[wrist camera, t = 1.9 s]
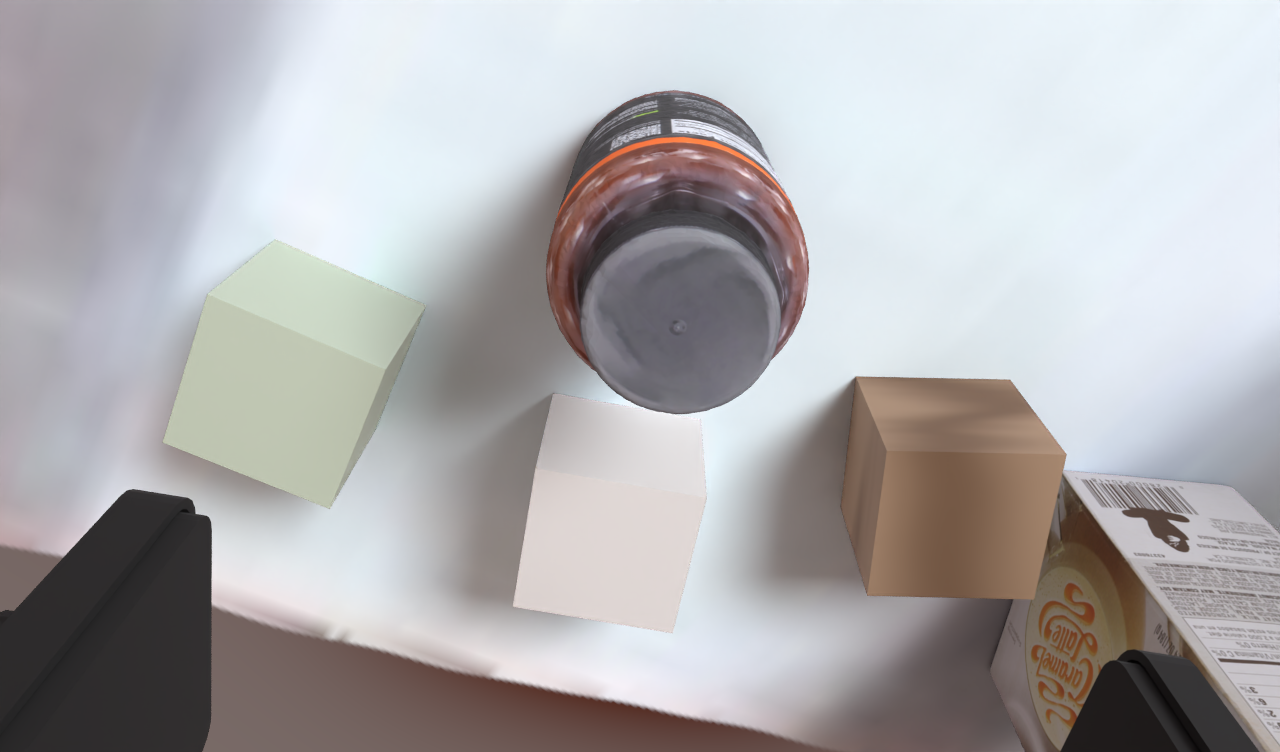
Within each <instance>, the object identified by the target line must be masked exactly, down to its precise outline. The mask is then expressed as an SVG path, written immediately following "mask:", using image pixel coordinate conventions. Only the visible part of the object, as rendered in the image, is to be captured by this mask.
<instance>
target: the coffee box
mask: <svg viewBox="0 0 1280 752" xmlns="http://www.w3.org/2000/svg"><path fill="white" fill-rule="evenodd" d="M1132 649H1136V650H1143V651H1149V652H1155V653H1161V654H1168V655H1174V656H1180V657H1184V658H1186V659H1189V660H1190V661H1191V662H1192V663H1193V664H1194V665H1195V666H1196V667H1197V668H1198V669H1199V670H1200V672H1201V673H1202V674H1203V676H1204V677H1205V678H1206V680H1207V681H1208V683H1209V684H1210V685H1211V687H1212V688H1213V689H1214V691H1215V692H1216V693H1217V695H1218V696H1219V697H1220V699H1221V700H1222V702H1223V703H1224V704H1225V706H1226V707H1227V708H1228V710H1229V711H1230V712H1231V714H1232V715H1233V716H1234V718H1235V719H1236V721H1237V722H1238V723H1239V725H1240V726H1241V727H1242V729H1243V730H1244V731H1245V733H1246V734H1247V735H1248V737H1249V738H1250V739H1251V741H1252V742H1253V744H1254V745H1255V746H1256V748H1257V749H1258V750H1259V752H1280V533H1279V532H1278V531H1277V530H1276V529H1275V528H1274V527H1273V526H1272V525H1271V524H1270V523H1268V522H1267V521H1266V520H1265V519H1264V518H1263V517H1262V516H1261V515H1260V514H1259V512H1258V511H1257V510H1256V509H1255V508H1254V507H1253V506H1251V505H1250V504H1249V503H1248V502H1247V501H1246V500H1245V499H1244V498H1243V497H1242V496H1241V495H1240V494H1239V493H1238V492H1237V491H1236V490H1235V489H1234V488H1232V487H1229V486H1225V485H1218V484H1207V483H1196V482H1185V481H1174V480H1164V479H1153V478H1142V477H1132V476H1121V475H1109V474H1098V473H1088V472H1077V471H1066V470H1064V471H1063V473H1062V477H1061V482H1060V486H1059V490H1058V495H1057V499H1056V504H1055V508H1054V513H1053V517H1052V522H1051V526H1050V531H1049V535H1048V539H1047V544H1046V548H1045V553H1044V557H1043V562H1042V566H1041V571H1040V575H1039V579H1038V584H1037V588H1036V593H1035V597H1034V600H1030V599H1013V602H1012V605H1011V608H1010V611H1009V614H1008V618H1007V621H1006V624H1005V627H1004V630H1003V633H1002V636H1001V639H1000V641H999V644H998V647H997V650H996V653H995V656H994V659H993V663H992V666H991V669H990V674H991V677H992V679H993V681H994V683H995V685H996V687H997V689H998V691H999V694H1000V696H1001V698H1002V701H1003V703H1004V705H1005V707H1006V710H1007V712H1008V714H1009V716H1010V719H1011V721H1012V723H1013V725H1014V728H1015V730H1016V733H1017V735H1018V737H1019V739H1020V741H1021V744H1022V746H1023V748H1024V750H1025V752H1060V751H1061V749H1062V747H1063V745H1064V743H1065V741H1066V739H1067V737H1068V735H1069V733H1070V731H1071V729H1072V727H1073V725H1074V723H1075V721H1076V719H1077V717H1078V715H1079V713H1080V711H1081V709H1082V707H1083V705H1084V703H1085V701H1086V699H1087V697H1088V695H1089V693H1090V691H1091V689H1092V686H1093V684H1094V682H1095V680H1096V678H1097V676H1098V674H1099V672H1100V670H1101V669H1102V667H1103V666H1104V665H1105V664H1106V663H1107V662H1109V661H1112V660H1117V659H1118V658H1119V656H1120V655H1121V654H1122V653H1124V652H1125V651H1127V650H1132Z"/></svg>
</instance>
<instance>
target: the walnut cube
mask: <svg viewBox="0 0 1280 752" xmlns="http://www.w3.org/2000/svg"><path fill="white" fill-rule="evenodd" d="M1065 459H1066V453H1065V452H1064V451H1063V449H1062V448H1061V447H1060V445H1059V444H1058V443H1057V441H1056V440H1055V439H1054V437H1053V436H1052V435H1051V433H1050V432H1049V431H1048V429H1047V428H1046V427H1045V425H1044V424H1043V423H1042V421H1041V420H1040V419H1039V417H1038V416H1037V415H1036V413H1035V412H1034V411H1033V409H1032V408H1031V407H1030V406H1029V404H1028V403H1027V402H1026V400H1025V399H1024V398H1023V396H1022V395H1021V394H1020V392H1019V391H1018V390H1017V388H1016V387H1015V386H1014V384H1013V383H1012V382H1011V380H997V379H948V378H900V377H856V379H855V388H854V396H853V405H852V414H851V422H850V431H849V439H848V448H847V457H846V465H845V474H844V483H843V491H842V500H841V510H842V513H843V516H844V520H845V523H846V526H847V530H848V533H849V536H850V540H851V543H852V546H853V550H854V553H855V556H856V560H857V563H858V566H859V570H860V573H861V576H862V580H863V583H864V586H865V590H866V593H867V596H906V597H947V598H989V599H1030V600H1034V597H1035V593H1036V588H1037V584H1038V579H1039V575H1040V571H1041V566H1042V562H1043V557H1044V553H1045V548H1046V544H1047V539H1048V535H1049V531H1050V526H1051V522H1052V517H1053V513H1054V508H1055V504H1056V499H1057V495H1058V490H1059V486H1060V482H1061V477H1062V473H1063V468H1064V464H1065Z"/></svg>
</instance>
